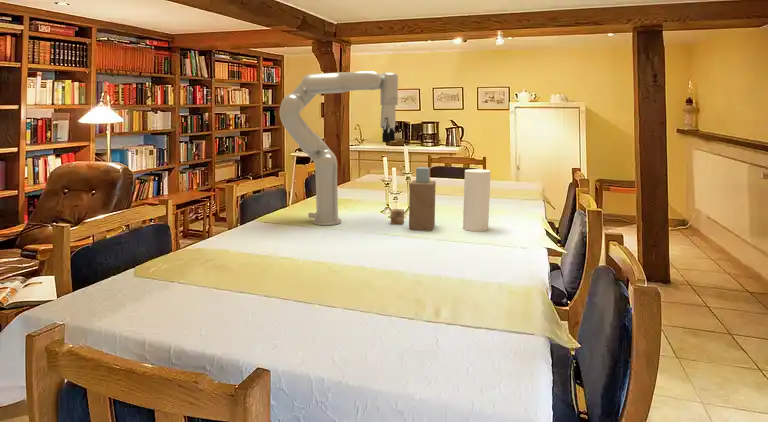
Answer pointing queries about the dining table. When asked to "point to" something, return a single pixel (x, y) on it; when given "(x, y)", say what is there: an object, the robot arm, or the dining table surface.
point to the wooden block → (422, 205)
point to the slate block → (422, 174)
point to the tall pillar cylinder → (476, 199)
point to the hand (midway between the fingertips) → (388, 141)
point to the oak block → (397, 216)
